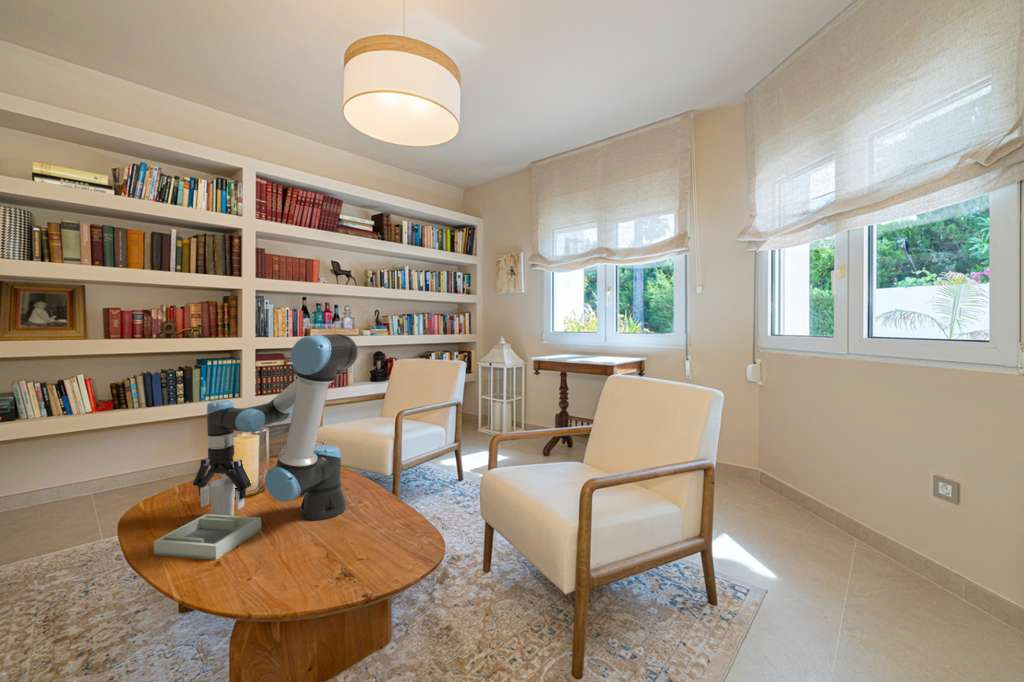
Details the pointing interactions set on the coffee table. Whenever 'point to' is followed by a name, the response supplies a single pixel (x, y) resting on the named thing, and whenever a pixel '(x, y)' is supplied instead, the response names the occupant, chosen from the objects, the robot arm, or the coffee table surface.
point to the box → (207, 536)
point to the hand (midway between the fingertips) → (222, 506)
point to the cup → (222, 496)
